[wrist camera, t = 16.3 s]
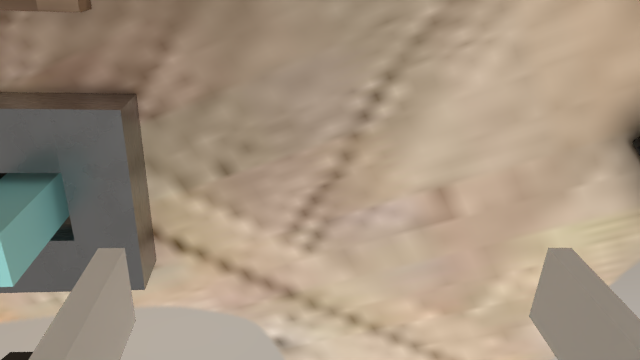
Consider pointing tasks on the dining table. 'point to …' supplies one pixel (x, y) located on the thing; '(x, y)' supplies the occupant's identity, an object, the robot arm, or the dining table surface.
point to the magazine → (637, 145)
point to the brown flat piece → (46, 5)
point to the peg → (28, 219)
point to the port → (82, 180)
